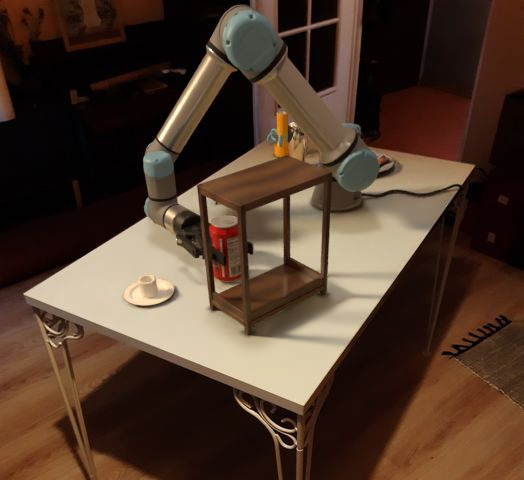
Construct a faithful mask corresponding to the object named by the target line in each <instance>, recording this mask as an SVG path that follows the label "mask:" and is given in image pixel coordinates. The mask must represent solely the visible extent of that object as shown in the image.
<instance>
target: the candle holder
mask: <svg viewBox="0 0 524 480" xmlns="http://www.w3.org/2000/svg"><path fill="white" fill-rule="evenodd" d="M174 292H175V286H174V285H173V283H172V282H171V281H168V280H166V279H163V278H156V276H154V275H152V274H145V275H142V276H140V277H138V279H137V280H136V281H135V282H133V283H132V284H130V285H129V286H127V288H125V290H124V293H123V297H124V299H125V301H127V302H128V303H129V304H132V305H136V306H153V305H158V304H161V303H163V302H166V301H167V300H168V299H170V298H171V297H172V296H173V294H174Z"/></svg>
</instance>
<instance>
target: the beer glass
mask: <svg viewBox="0 0 524 480" xmlns="http://www.w3.org/2000/svg"><path fill="white" fill-rule="evenodd" d="M287 141H288V148H289V154H290V157H293V158H296V159H298V160H301V161H304V162H306V151H307V146H308V141H309V139H308V137H307V136H306V135H305V134H304V133H303V132H302V131H301V129H300V128H299V127H298V126H297V125H296V124H295V123H294V121H293V120H292V121H290V122H288V131H287Z"/></svg>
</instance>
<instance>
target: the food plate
mask: <svg viewBox="0 0 524 480" xmlns="http://www.w3.org/2000/svg"><path fill="white" fill-rule="evenodd" d="M370 150H371V151H372V152H374V153H375V155H376V156H377V159H378V161H379V172H378V174H380V173H384V172H386V171H389V170H391V169H393V168H394V167H395V164H396V161H395V159H393V157H391V156H390V155H389V154H386V153H383V152H379V151H378V150H373V149H370Z"/></svg>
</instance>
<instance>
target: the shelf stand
mask: <svg viewBox="0 0 524 480" xmlns="http://www.w3.org/2000/svg"><path fill="white" fill-rule="evenodd" d="M321 183H324V192H323V210H322V220H321V221H322V222H321V245H320V246H321V248H320V271H318V270H315V269H314V268H311V267H310V266H308V265H306V264H304V263H302V262H301V261H298V260H296V259H295V258H293V257H291V196H292V195H294V194H297V193H300V192H303V191H306V190H308V189H311V188H315V186H316V185H319V184H321ZM196 190H197V197H198V207H199V208H198V209H199V215H200V218H201V228H202V237H203V247H204V256H205V260H204V264H205V275H206V285H207V293H208V301H209V309H210V310H211V311H216V310H218V309H219V310H220V311H222V312H223V313H225V314H226V315H228V316H229V317H230V318H232V319H233V320H235V321H236V322H237V323H239V324H240V325H241V326H243V330H244V331H243V332H244V334H245V335H247V336H249V335H251V334H253V326H255V325H258V324H259V323H261V322H263V321H265V320H267V319H269V318H271V317H273V316H275V315H277V314H279V313H280V312H282V311H284V310H285V311H286V310H287V309H289V308H290V307H292V306H295V305H297V304H298V303H300V302H302V301H304V300H307V299H308V298H310V297H312V296H314V295H316V294H318V293H319V295H320V296H322V297H325V296H326V295H327V294H328V293H327V292H328V272H329V271H328V270H329V251H330V231H331V212H332V211H331V191H332V172H331V171H328V170H326V169H323V168H320V167H319V166H317V165H314V164H313V163H310V162H306V161H305V162H304V161H301V160H298V159H296V158H293V157H290V156H287V155H286V156H283V157H277V158H274V159H271V160H268V161H265V162H262V163H259V164H255V165H253V166H250V167H247V168H243V169H240V170H237V171H235V172H232V173H228V174H225V175H223V176H219V177H217V178H213V179H210V180H208V181H205V182H201V183H198V184H196ZM207 198H208V199H210V200H212V201H214V202H215V203H216V202H218V203H217V204H220V205H222V206H224V207H226V208H228V209H230V210H232V211H234V212H236V218H237V220H238V236H239V252H240V268H241V278H240V283H238V284H236V285H233V286H231V287H229V288H227V289H225V290H223V291H220V292H218V291H216V284H215V277H214V272H213V261H212V251H211V241H210V230H209V223H210V222H209V220H210V219H209V212H208V211H209V210H208V200H207ZM281 199H282V226H283V227H282V229H283V231H282V232H283V233H282V234H283V235H282V237H283V239H282V240H283V241H282V242H283V245H282V247H283V263H282V264H280V265H277V266H275V267H273V268H271V269H268V270H266V271H265V272H262V273H260V274H258V275H256V276H253V277H251V278H250V270H249V269H250V268H249V267H250V266H249V254H248V247H247V240H248V230H247V212H250V211H253V210H255V209H258V208H260V207H263V206H266V205H268V204H271V203H274V202H276V201H279V200H281Z"/></svg>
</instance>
